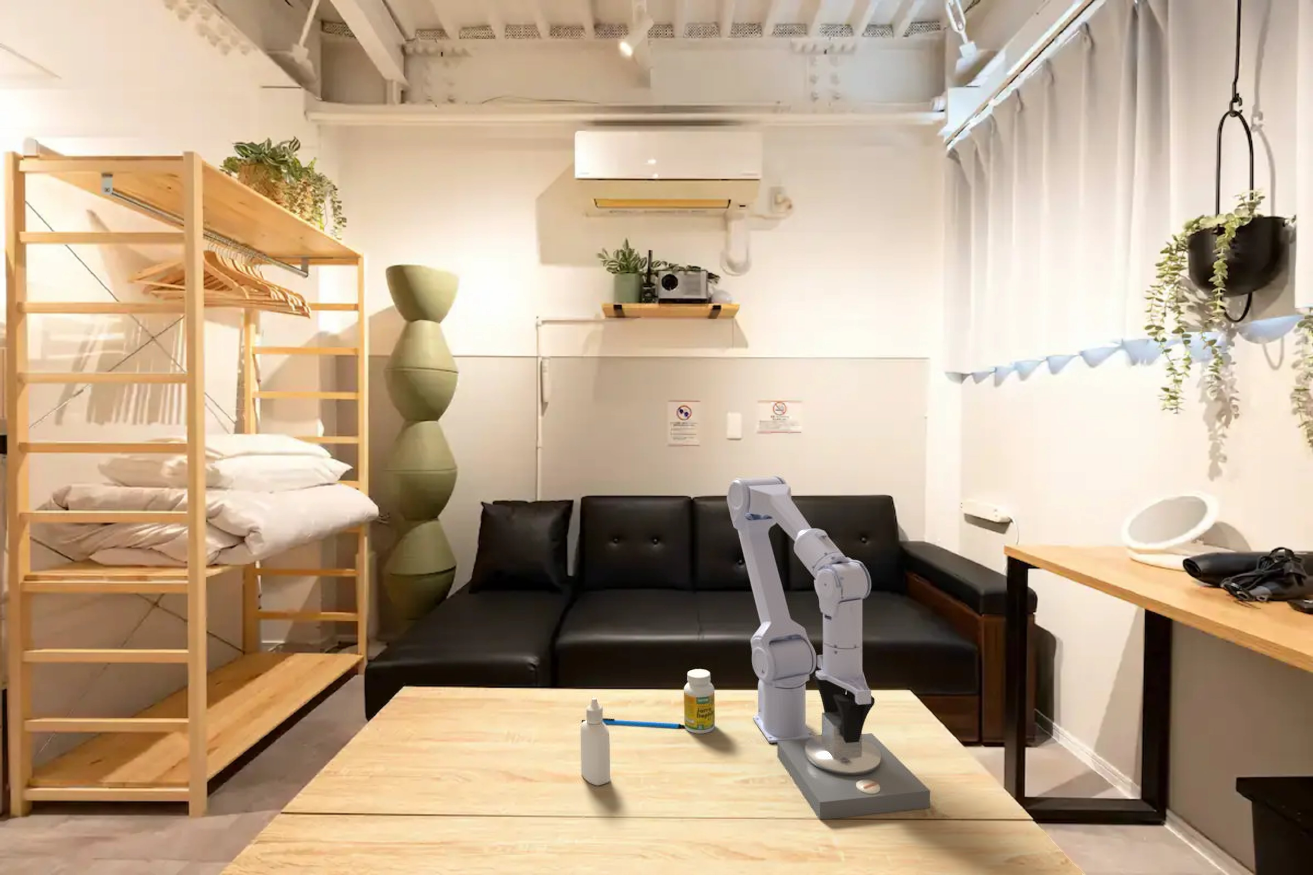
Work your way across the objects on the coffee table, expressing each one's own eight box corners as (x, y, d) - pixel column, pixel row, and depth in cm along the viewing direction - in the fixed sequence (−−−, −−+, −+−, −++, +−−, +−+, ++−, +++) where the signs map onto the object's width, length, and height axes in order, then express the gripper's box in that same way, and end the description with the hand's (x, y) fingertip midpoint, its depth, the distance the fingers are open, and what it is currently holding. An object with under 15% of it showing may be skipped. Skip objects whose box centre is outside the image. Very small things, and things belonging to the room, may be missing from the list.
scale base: (777, 756, 107) (777, 739, 107) (871, 747, 110) (871, 731, 109) (819, 819, 90) (819, 799, 90) (929, 807, 93) (930, 788, 93)
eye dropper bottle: (609, 766, 105) (608, 690, 104) (610, 786, 99) (609, 705, 99) (581, 767, 104) (580, 691, 104) (580, 787, 99) (579, 707, 98)
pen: (582, 722, 120) (582, 715, 120) (688, 728, 118) (688, 721, 118) (581, 724, 120) (581, 718, 120) (688, 730, 117) (688, 724, 117)
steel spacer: (821, 744, 104) (821, 712, 103) (848, 742, 104) (848, 710, 104) (833, 758, 99) (833, 725, 99) (861, 756, 100) (861, 723, 100)
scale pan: (794, 741, 106) (794, 736, 106) (860, 735, 108) (860, 730, 108) (822, 778, 96) (822, 772, 95) (894, 771, 97) (894, 765, 97)
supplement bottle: (702, 717, 121) (702, 664, 121) (721, 729, 117) (720, 674, 116) (678, 725, 118) (677, 671, 118) (696, 737, 114) (695, 681, 113)
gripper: (799, 628, 108) (799, 712, 108) (837, 661, 93) (837, 757, 94) (840, 626, 109) (841, 709, 109) (885, 658, 95) (884, 753, 95)
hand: (842, 731), depth 102 cm, fingers open, 6 cm apart
